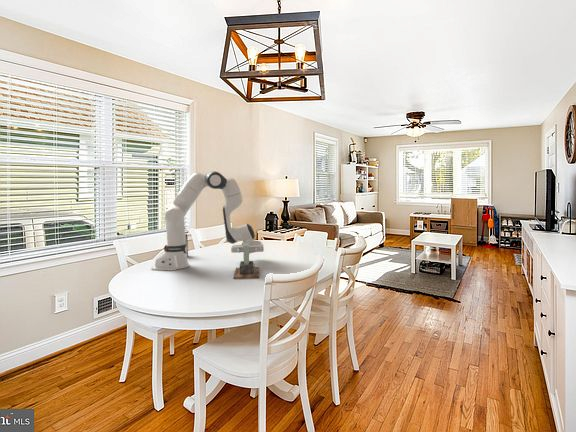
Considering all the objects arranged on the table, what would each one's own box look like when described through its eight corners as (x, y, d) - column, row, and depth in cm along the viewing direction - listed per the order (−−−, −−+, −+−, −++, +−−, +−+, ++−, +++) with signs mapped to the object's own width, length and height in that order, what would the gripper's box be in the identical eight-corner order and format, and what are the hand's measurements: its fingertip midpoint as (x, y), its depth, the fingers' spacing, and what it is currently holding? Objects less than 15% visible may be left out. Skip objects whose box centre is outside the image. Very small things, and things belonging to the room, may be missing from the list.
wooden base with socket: (233, 279, 184) (233, 268, 183) (236, 269, 203) (235, 259, 203) (258, 278, 185) (258, 267, 184) (259, 268, 204) (258, 258, 204)
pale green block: (244, 273, 191) (243, 245, 189) (244, 270, 197) (243, 243, 195) (249, 272, 191) (248, 245, 189) (249, 270, 197) (248, 243, 195)
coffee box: (188, 255, 243) (187, 234, 241) (182, 257, 237) (181, 235, 235) (179, 254, 246) (178, 233, 245) (172, 256, 241) (171, 234, 239)
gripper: (231, 242, 214) (229, 246, 200) (263, 241, 216) (263, 245, 202) (231, 251, 215) (229, 256, 201) (263, 250, 216) (263, 255, 203)
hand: (247, 251), depth 201 cm, fingers open, 8 cm apart
